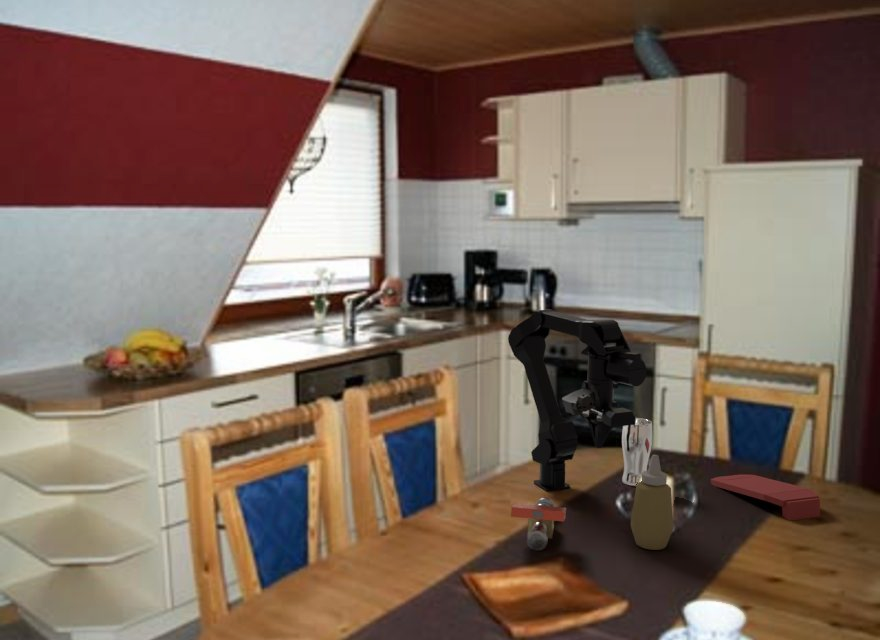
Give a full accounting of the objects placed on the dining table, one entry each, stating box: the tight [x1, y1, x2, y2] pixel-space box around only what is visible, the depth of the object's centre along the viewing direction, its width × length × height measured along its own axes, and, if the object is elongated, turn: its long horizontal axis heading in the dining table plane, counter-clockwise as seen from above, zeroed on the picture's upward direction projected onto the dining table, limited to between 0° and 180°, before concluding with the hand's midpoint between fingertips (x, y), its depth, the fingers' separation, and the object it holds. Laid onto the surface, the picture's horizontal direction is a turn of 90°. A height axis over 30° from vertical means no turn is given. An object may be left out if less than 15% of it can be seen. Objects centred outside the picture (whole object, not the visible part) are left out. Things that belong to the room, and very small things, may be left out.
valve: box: [526, 497, 556, 552], centre depth 161 cm, size 18×5×4 cm, turn 168°
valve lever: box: [510, 502, 567, 522], centre depth 156 cm, size 2×10×11 cm
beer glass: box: [621, 417, 653, 487], centre depth 190 cm, size 7×7×15 cm
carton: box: [710, 473, 821, 521], centre depth 182 cm, size 12×5×25 cm
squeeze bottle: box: [629, 454, 674, 551], centre depth 154 cm, size 8×8×18 cm
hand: (598, 447), depth 174 cm, fingers closed
